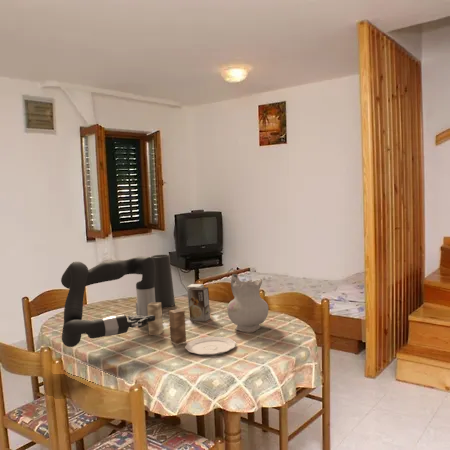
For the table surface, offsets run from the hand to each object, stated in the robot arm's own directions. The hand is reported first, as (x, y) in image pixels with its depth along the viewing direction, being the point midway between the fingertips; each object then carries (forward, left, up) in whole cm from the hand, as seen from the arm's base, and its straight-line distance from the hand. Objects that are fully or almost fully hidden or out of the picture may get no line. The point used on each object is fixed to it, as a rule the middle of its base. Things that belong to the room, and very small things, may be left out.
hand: (154, 317), depth 192 cm
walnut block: (+4, +10, -13) cm, 17 cm away
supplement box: (-24, +62, -13) cm, 68 cm away
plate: (+21, +10, -14) cm, 27 cm away
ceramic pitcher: (+21, +40, -13) cm, 47 cm away
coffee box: (-8, +43, -13) cm, 46 cm away
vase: (-46, +59, -13) cm, 76 cm away
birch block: (-14, +16, -13) cm, 25 cm away
